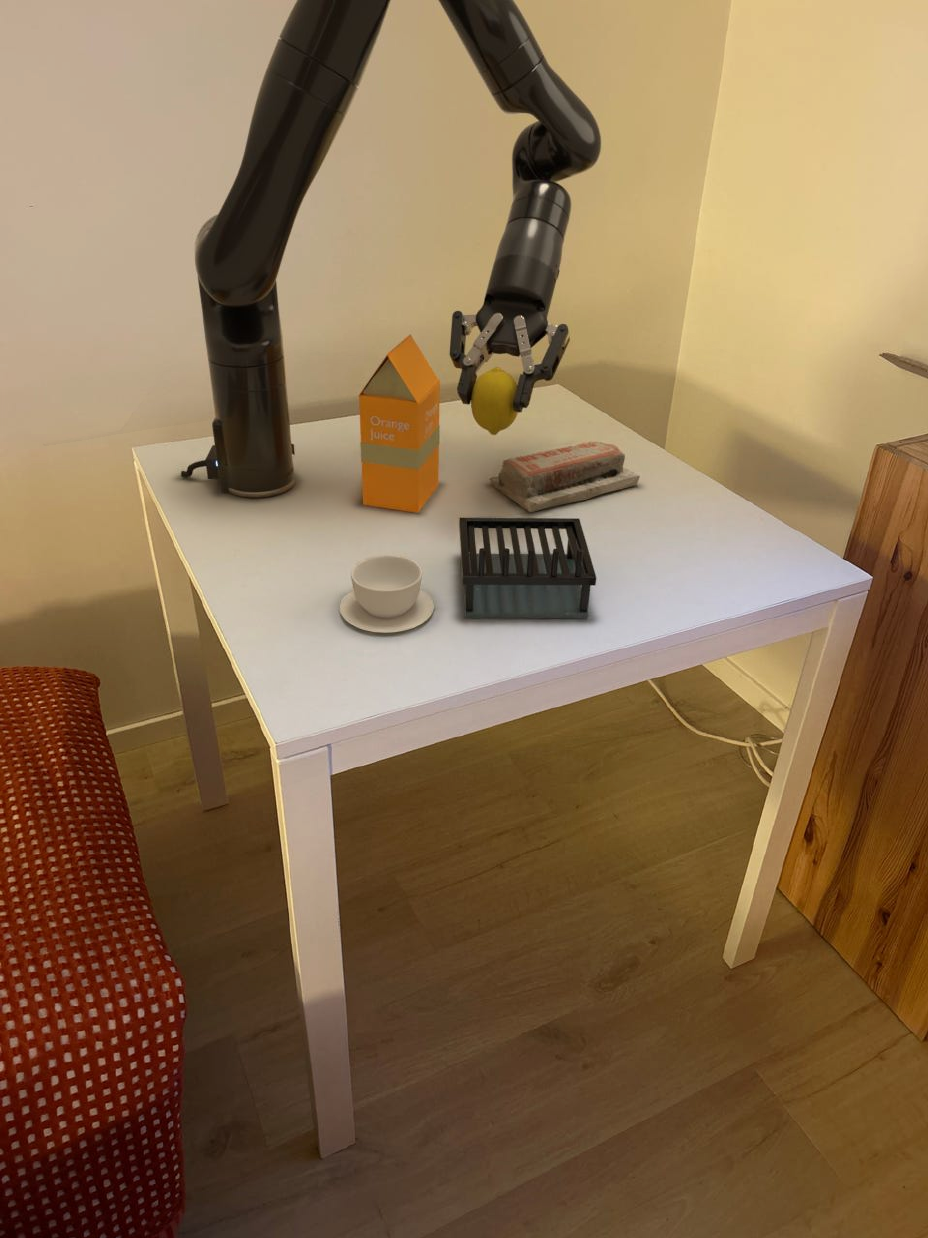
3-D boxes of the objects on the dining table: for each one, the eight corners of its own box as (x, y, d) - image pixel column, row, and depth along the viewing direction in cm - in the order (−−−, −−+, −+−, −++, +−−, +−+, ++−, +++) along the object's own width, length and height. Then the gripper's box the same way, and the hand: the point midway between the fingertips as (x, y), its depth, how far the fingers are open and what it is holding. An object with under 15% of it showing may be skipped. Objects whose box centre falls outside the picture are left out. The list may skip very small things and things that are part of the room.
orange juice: (439, 485, 125) (441, 336, 114) (419, 513, 118) (418, 357, 107) (384, 477, 127) (381, 329, 116) (361, 504, 119) (355, 350, 108)
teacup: (451, 618, 98) (452, 580, 95) (367, 646, 93) (366, 607, 91) (404, 576, 105) (403, 540, 102) (324, 600, 100) (321, 563, 97)
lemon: (522, 429, 110) (527, 363, 105) (509, 447, 105) (513, 378, 101) (478, 422, 111) (481, 356, 107) (463, 439, 107) (465, 371, 102)
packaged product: (532, 480, 115) (489, 452, 123) (530, 515, 118) (488, 485, 125) (644, 453, 123) (598, 428, 130) (639, 486, 126) (594, 460, 133)
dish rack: (461, 619, 98) (463, 551, 93) (458, 556, 109) (459, 493, 104) (591, 619, 98) (599, 551, 94) (575, 557, 109) (582, 494, 105)
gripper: (459, 245, 105) (422, 381, 102) (583, 258, 102) (549, 399, 99) (472, 283, 113) (438, 410, 110) (588, 296, 109) (556, 428, 106)
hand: (491, 404), depth 104 cm, fingers closed on lemon, 5 cm apart
